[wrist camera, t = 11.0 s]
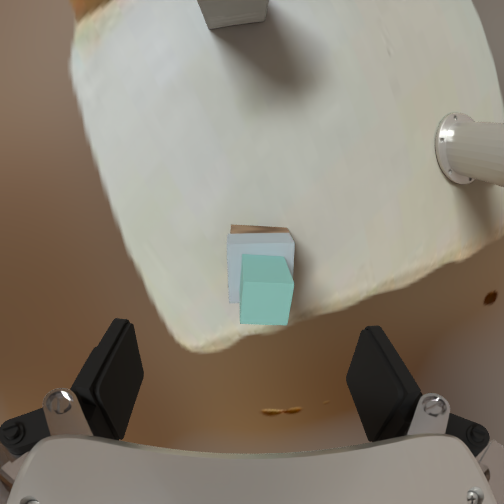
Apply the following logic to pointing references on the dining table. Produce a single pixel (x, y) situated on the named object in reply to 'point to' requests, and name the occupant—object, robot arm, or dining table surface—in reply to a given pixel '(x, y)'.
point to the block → (265, 290)
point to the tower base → (256, 229)
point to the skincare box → (232, 12)
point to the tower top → (255, 246)
